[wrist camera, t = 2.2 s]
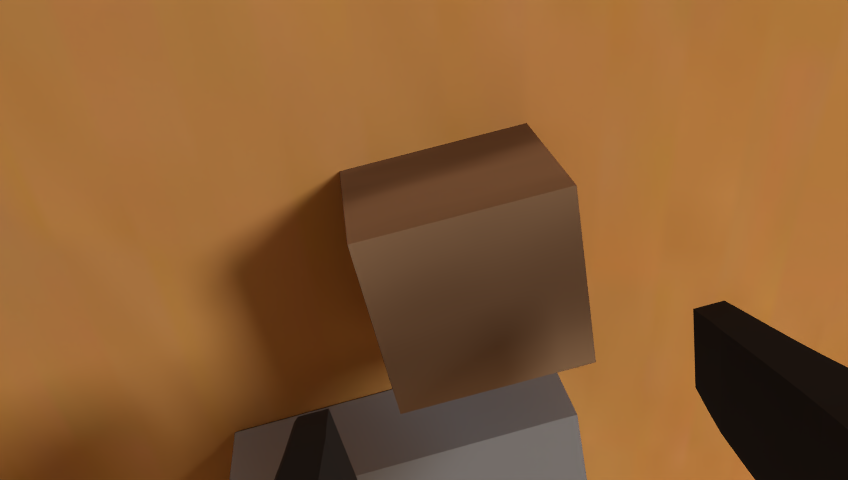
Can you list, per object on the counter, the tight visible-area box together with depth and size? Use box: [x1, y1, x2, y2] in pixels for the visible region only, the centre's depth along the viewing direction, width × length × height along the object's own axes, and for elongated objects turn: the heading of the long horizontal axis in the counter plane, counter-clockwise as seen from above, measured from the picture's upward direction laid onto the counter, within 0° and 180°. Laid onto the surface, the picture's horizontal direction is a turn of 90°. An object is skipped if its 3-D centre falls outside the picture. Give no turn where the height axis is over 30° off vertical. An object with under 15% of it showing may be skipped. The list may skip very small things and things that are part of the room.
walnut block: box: [340, 123, 596, 414], centre depth 18 cm, size 5×5×4 cm
